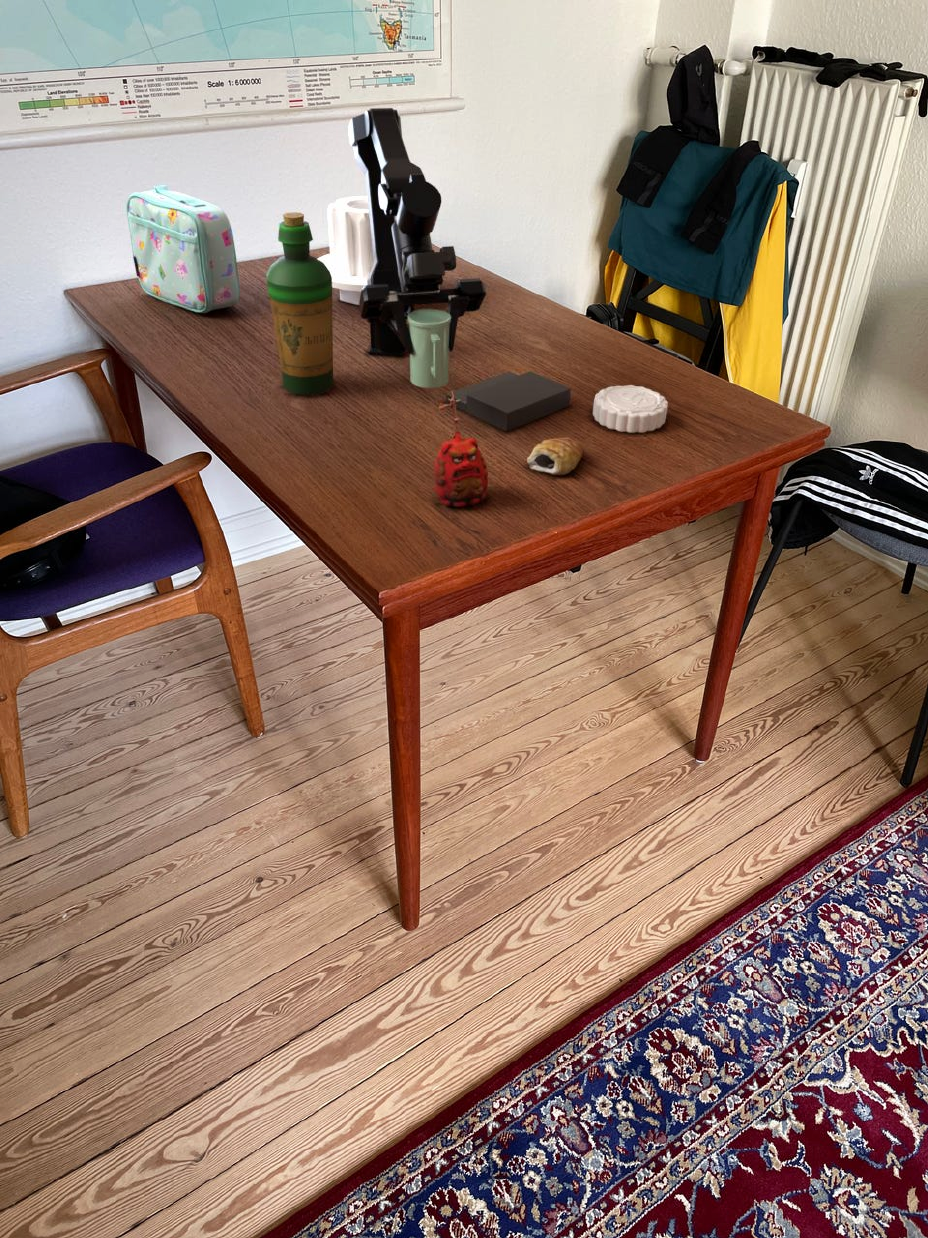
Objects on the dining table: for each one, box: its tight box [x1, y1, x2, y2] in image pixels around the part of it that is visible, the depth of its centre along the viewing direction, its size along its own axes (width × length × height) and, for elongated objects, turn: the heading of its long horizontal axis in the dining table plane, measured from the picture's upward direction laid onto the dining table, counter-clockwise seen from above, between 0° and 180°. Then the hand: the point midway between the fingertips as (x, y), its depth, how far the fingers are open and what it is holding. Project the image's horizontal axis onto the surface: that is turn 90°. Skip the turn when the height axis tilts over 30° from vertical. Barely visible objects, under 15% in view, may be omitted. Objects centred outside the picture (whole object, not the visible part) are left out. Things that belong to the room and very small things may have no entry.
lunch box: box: [126, 184, 241, 314], centre depth 183 cm, size 27×10×21 cm, turn 49°
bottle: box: [265, 211, 334, 396], centre depth 148 cm, size 11×11×28 cm
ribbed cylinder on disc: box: [317, 195, 397, 306], centre depth 188 cm, size 25×25×19 cm
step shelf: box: [445, 370, 572, 432], centre depth 152 cm, size 14×15×3 cm
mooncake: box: [592, 384, 669, 434], centre depth 148 cm, size 12×12×4 cm
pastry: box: [526, 437, 584, 476], centre depth 135 cm, size 9×7×4 cm
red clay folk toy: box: [434, 390, 489, 508], centre depth 123 cm, size 8×7×15 cm
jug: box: [407, 308, 451, 389], centre depth 137 cm, size 9×6×10 cm
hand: (431, 351), depth 137 cm, fingers closed on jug, 6 cm apart
